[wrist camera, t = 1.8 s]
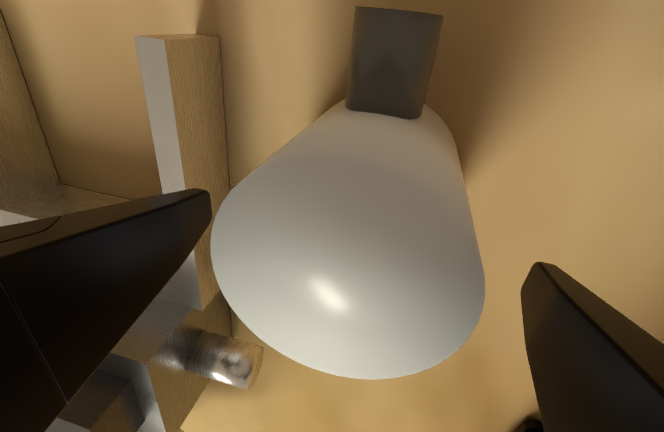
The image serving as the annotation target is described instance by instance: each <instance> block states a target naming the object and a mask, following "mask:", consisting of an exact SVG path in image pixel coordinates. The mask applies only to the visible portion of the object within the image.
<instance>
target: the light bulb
mask: <svg viewBox="0 0 664 432" xmlns="http://www.w3.org/2000/svg"><path fill="white" fill-rule="evenodd" d="M443 18H444V16H441V15H435V14H428V13H420V12H412V11H403V10H393V9H383V8H372V7H356V8H355V17H354V26H353V35H352V44H351V53H350V62H349V71H348V80H347V89H346V98H345V99H343V100H342V101H340V102H338V103H337V104H335V105H334V106H332V107H331V108H330V109H329V110H327V111H326V112H325V113H324V114H322V115H321V116H320V117H319V118H317V119H316V120H315V121H314V122H313V123H311V124H310V125H309V126H308V127H306V128H305V129H304V130H303V131H301V132H300V133H299V134H298V135H297V136H295V137H294V138H293V139H292V140H290V141H289V142H288V143H287V144H285V145H284V146H283V147H282V148H280V149H279V150H278V151H277V152H276V153H274V154H273V155H272V156H271V157H269V158H268V159H267V160H266V161H264V162H263V163H262V164H261V165H260V166H258V167H257V168H256V169H255V170H253V171H252V172H251V173H250V174H248V175H247V176H246V177H245V178H244V179H242V180H241V181H240V182H239V183H238V184H237V185H236V186H235V187H234V188H233V189H232V190H231V191H230V192H229V194H228V195H227V196H226V198H225V199H224V201H223V202H222V204H221V206H220V208H219V210H218V212H217V214H216V216H215V220H214V223H213V227H212V232H211V240H210V249H211V260H212V265H213V270H214V273H215V276H216V279H217V282H218V285H219V287H220V289H221V291H222V293H223V295H224V297H225V299H226V300H227V302H228V303H229V305H230V307H231V308H232V309H233V311H234V312H235V313H236V315H237V316H238V317H239V318H240V320H241V321H242V322H243V323H244V324H245V325H246V326H247V327H248V328H249V329H250V330H251V331H252V332H253V333H254V334H255V335H256V336H258V337H259V338H260V339H261V340H263V341H264V342H265V343H266V344H268V345H269V346H270V347H272V348H273V349H275V350H277V351H278V352H280V353H281V354H283V355H285V356H287V357H288V358H290V359H292V360H294V361H296V362H298V363H301V364H303V365H305V366H308V367H310V368H313V369H316V370H319V371H322V372H325V373H329V374H333V375H337V376H342V377H349V378H356V379H389V378H398V377H403V376H407V375H412V374H415V373H418V372H421V371H424V370H427V369H429V368H431V367H433V366H435V365H437V364H439V363H441V362H442V361H444V360H445V359H447V358H448V357H450V356H451V355H452V354H453V353H455V352H456V351H457V350H458V349H459V348H460V347H461V346H462V345H463V344H464V343H465V342H466V340H467V339H468V338H469V337H470V335H471V334H472V332H473V330H474V328H475V327H476V325H477V323H478V321H479V318H480V315H481V312H482V309H483V304H484V297H485V276H484V271H483V267H482V262H481V257H480V253H479V248H478V243H477V239H476V234H475V230H474V225H473V220H472V216H471V211H470V207H469V202H468V197H467V193H466V188H465V184H464V179H463V174H462V170H461V165H460V160H459V156H458V151H457V147H456V143H455V141H454V138H453V135H452V134H451V132H450V130H449V128H448V126H447V125H446V124H445V122H444V121H443V120H442V118H441V117H440V116H439V115H438V114H437V113H436V112H435V111H434V110H433V109H431V108H430V107H428V106H427V105H426V104H424V101H425V97H426V92H427V88H428V84H429V79H430V75H431V70H432V66H433V62H434V57H435V53H436V48H437V44H438V40H439V35H440V31H441V27H442V22H443Z"/></svg>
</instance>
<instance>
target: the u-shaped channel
mask: <svg viewBox="0 0 664 432" xmlns="http://www.w3.org/2000/svg"><path fill="white" fill-rule="evenodd" d="M134 38H135V43H136V49H137V54H138V60H139V65H140V71H141V76H142V82H143V87H144V93H145V98H146V104H147V110H148V115H149V121H150V126H151V132H152V137H153V143H154V148H155V154H156V159H157V165H158V170H159V176H160V181H161V187H162V193H163V194H167V193H172V192H177V191H182V190H187V189H191V188H199V189H203V190H207V191H208V192H209V193H210V197H211V207H212V220H211V222H210V224H209V226H208V227H207V229H206V230H205V232H204V233H203V235H202V236H201V238H200V240H199V241H198V243H197V244H196V246H195V247H194V249H193V250H192V252H191V253H190V255H189V256H188V258H187V259H186V260H185V262H184V263H183V264H182V266H181V267H180V268H179V269H178V271H177V272H176V273H175V274H174V275H173V277H172V278H171V279H170V280H169V282H168V283H167V284H166V285H165V286H164V288H163V289H162V290H161V291H160V292H159V294H158V295H157V296H156V297H155V299H154V300H153V301H152V302H151V303H150V305H149V306H148V307H147V308H146V309H145V311H144V312H143V313H142V314H141V316H140V317H139V318H138V319H137V320H136V322H135V323H134V324H133V325H132V326H131V328H130V329H129V330H128V331H127V333H126V334H125V335H124V336H123V337H122V339H121V340H120V341H119V342H118V343H117V345H116V346H115V347H114V348H113V349H112V351H111V352H110V353H109V354H108V356H107V357H106V358H105V359H104V360H103V362H102V363H101V364H100V365H99V366H98V368H97V369H96V370H95V371H94V373H93V374H92V375H91V376H90V377H89V379H88V380H87V381H86V382H85V383H84V385H83V386H82V387H81V388H80V390H79V391H78V392H77V393H76V394H75V396H74V397H73V398H72V399H71V400H70V402H69V403H66V404H67V405H66V407H65V408H64V409H63V410H62V412H61V413H60V414H59V415H58V417H57V418H56V419H55V420H54V421H53V423H52V424H51V425H50V426H49V428H48V429H47V430H46V431H45V432H177V431H178V430H179V428H180V427H181V425H182V424H183V422H184V420H185V419H186V417H187V416H188V414H189V412H190V411H191V409H192V408H193V406H194V404H195V403H196V401H197V400H198V398H199V396H200V395H201V393H202V392H203V390H204V388H205V387H206V385H207V384H208V382H209V380H210V379H213V380H216V381H219V382H222V383H226V384H229V385H232V386H235V387H238V388H241V389H245V390H249V389H250V388H251V387H252V386H253V384H254V382H255V380H256V378H257V376H258V373H259V370H260V367H261V364H262V360H263V352H264V351H263V347H261V346H257V345H254V344H251V343H247V342H244V341H240V340H237V339H233V338H232V331H231V319H230V307H229V303H228V302H227V300H226V299H225V297H224V295H223V293H222V291H221V289H220V287H219V285H218V282H217V279H216V276H215V273H214V270H213V265H212V260H211V249H210V240H211V232H212V227H213V223H214V220H215V216H216V214H217V212H218V210H219V208H220V206H221V204H222V202H223V201H224V199H225V198H226V196H227V195H228V194H229V192H230V190H229V175H228V160H227V145H226V130H225V115H224V100H223V85H222V71H221V56H220V41H219V37H215V36H207V35H199V34H175V35H141V36H134ZM127 201H132V200H129V199H125V198H120V197H116V196H112V195H107V194H103V193H98V192H94V191H90V190H85V189H81V188H77V187H72V186H68V185H63V184H60V181H59V178H58V175H57V172H56V170H55V167H54V164H53V161H52V158H51V155H50V152H49V149H48V147H47V144H46V141H45V138H44V135H43V132H42V129H41V126H40V124H39V121H38V118H37V115H36V112H35V109H34V106H33V103H32V101H31V98H30V95H29V92H28V89H27V86H26V83H25V80H24V78H23V75H22V72H21V69H20V66H19V63H18V60H17V58H16V55H15V52H14V49H13V46H12V43H11V40H10V37H9V35H8V32H7V29H6V26H5V23H4V20H3V17H2V14H1V12H0V226H6V225H12V224H17V223H23V222H28V221H33V220H38V219H43V218H48V217H53V216H58V215H61V216H62V215H64V214H68V213H73V212H78V211H83V210H88V209H93V208H98V207H103V206H108V205H113V204H118V203H122V202H127Z"/></svg>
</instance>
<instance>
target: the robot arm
mask: <svg viewBox="0 0 664 432" xmlns="http://www.w3.org/2000/svg"><path fill="white" fill-rule="evenodd" d="M211 220H212V207H211V197H210V193H209V192H208V191H207V190H203V189H199V188H191V189H187V190H182V191H177V192H172V193H167V194H162V195H157V196H152V197H147V198H142V199H137V200H132V201H127V202H122V203H118V204H113V205H108V206H103V207H98V208H93V209H88V210H83V211H78V212H73V213H68V214H64V215H62V216H61V215H58V216H53V217H48V218H43V219H38V220H33V221H28V222H23V223H17V224H12V225H6V226H0V432H45V431H46V430H47V429H48V428H49V426H50V425H51V424H52V423H53V421H54V420H55V419H56V418H57V417H58V415H59V414H60V413H61V412H62V410H63V409H64V408H65V407H66V405H67V404H66V403H69V402H70V400H71V399H72V398H73V397H74V396H75V394H76V393H77V392H78V391H79V390H80V388H81V387H82V386H83V385H84V383H85V382H86V381H87V380H88V379H89V377H90V376H91V375H92V374H93V373H94V371H95V370H96V369H97V368H98V366H99V365H100V364H101V363H102V362H103V360H104V359H105V358H106V357H107V356H108V354H109V353H110V352H111V351H112V349H113V348H114V347H115V346H116V345H117V343H118V342H119V341H120V340H121V339H122V337H123V336H124V335H125V334H126V333H127V331H128V330H129V329H130V328H131V326H132V325H133V324H134V323H135V322H136V320H137V319H138V318H139V317H140V316H141V314H142V313H143V312H144V311H145V309H146V308H147V307H148V306H149V305H150V303H151V302H152V301H153V300H154V299H155V297H156V296H157V295H158V294H159V292H160V291H161V290H162V289H163V288H164V286H165V285H166V284H167V283H168V282H169V280H170V279H171V278H172V277H173V275H174V274H175V273H176V272H177V271H178V269H179V268H180V267H181V266H182V264H183V263H184V262H185V260H186V259H187V258H188V256H189V255H190V253H191V252H192V250H193V249H194V247H195V246H196V244H197V243H198V241H199V240H200V238H201V236H202V235H203V233H204V232H205V230H206V229H207V227H208V226H209V224H210V222H211ZM521 304H522V315H523V326H524V336H525V345H526V351H527V356H528V361H529V365H530V370H531V374H532V379H533V383H534V388H535V392H536V397H537V401H538V405H539V410H540V414H541V419H542V422H540V421H536V420H527V421H524V422H523V423H522V425H521V426H520V427H519V429H518V430H517V432H664V344H662V343H661V342H660V341H658V340H657V339H655V338H654V337H653V336H651V335H650V334H649V333H647V332H646V331H645V330H643V329H642V328H640V327H639V326H638V325H636V324H635V323H634V322H632V321H631V320H629V319H628V318H627V317H625V316H624V315H623V314H621V313H620V312H619V311H617V310H616V309H614V308H613V307H612V306H610V305H609V304H608V303H606V302H605V301H603V300H602V299H601V298H599V297H598V296H597V295H595V294H594V293H593V292H591V291H590V290H588V289H587V288H586V287H584V286H583V285H582V284H580V283H579V282H578V281H576V280H575V279H573V278H572V277H571V276H569V275H568V274H567V273H565V272H564V271H562V270H561V269H560V268H558V267H557V266H555V265H553V264H549V263H544V262H536V263H534V265H533V266H532V268H531V270H530V272H529V274H528V276H527V278H526V279H525V281H524V283H523V285H522V288H521Z"/></svg>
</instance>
